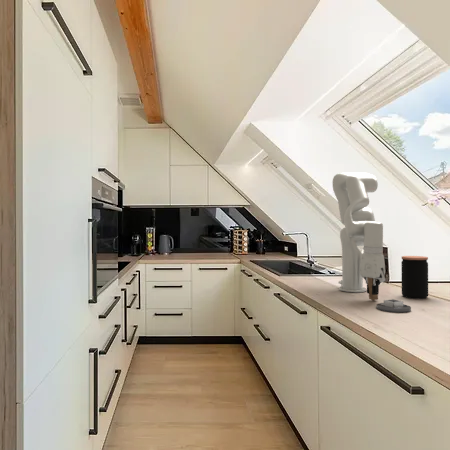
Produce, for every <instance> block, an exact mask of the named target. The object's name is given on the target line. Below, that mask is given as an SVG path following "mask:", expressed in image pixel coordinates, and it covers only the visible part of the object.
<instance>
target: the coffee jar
mask: <svg viewBox="0 0 450 450" xmlns="http://www.w3.org/2000/svg"><path fill="white" fill-rule="evenodd" d="M428 260H429V257H428V256H422V255H421V256H420V255H402V256H401V295H402V297H404V298H406V299H413V300H414V299H415V300H424V299H427V298H428V297H429V262H428Z"/></svg>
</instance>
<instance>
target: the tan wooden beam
mask: <svg viewBox="0 0 450 450" xmlns="http://www.w3.org/2000/svg"><path fill="white" fill-rule="evenodd" d="M367 280H368V286H369V293H368V299H369V300H371V301H376V300H379V294H377V295H372V285H373V278H369V277H367Z"/></svg>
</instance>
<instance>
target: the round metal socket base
mask: <svg viewBox="0 0 450 450" xmlns="http://www.w3.org/2000/svg"><path fill="white" fill-rule="evenodd" d="M376 309H377V310H378V311H382V312H387V313H395V314H407V313H410V312H412V307H411V306H410V305H408V304H404V301H402V300H399V299H394V298H391V299H383V302H378V303H377V304H376Z"/></svg>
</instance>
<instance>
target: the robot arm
mask: <svg viewBox="0 0 450 450" xmlns="http://www.w3.org/2000/svg"><path fill="white" fill-rule="evenodd" d="M378 185H379V184H378V179H377V178H376V176H375V175H374V174H370V173H368V172H339V173H337V174H335V175H334V176H333V178H332V190H333V193H334V195H335V198H336V199H337V204H338V210H339V218H340V222H341V223H342V225H344V227H343V228H342V229H341V230H340V233H339V238H340V244H341V260H342V261H341V262H342V263H341V264H342V268H341V270H342V274H341V276H342V278H341V280H339V281H338V284H339V285H341V286H339V287H338V289H339V291H341V292H346V293H363V292H366V294H369V286H368V280H367V277H369V278H373V285H372V295H377V294H378V295H379V291H380V289H379V287H380V285H381V283H382V282H383V283H384V282H386V278H385V275H386V264H385V261H386V260H385V255H384V253H383V251H384V247H383V246H384V225H383V223H382V222H381V221H376V218H375V215H374V212H373V210H372V209H371V208H370V207H368V206H369V204H370V199H369V198H370V197H369V195H368V193H375V192H376V191H377V190H378V187H379V186H378ZM361 246H362V250H363V253H362V251H361V250H360V249H359V247H361ZM363 279H364V280H363ZM364 281H365V284H366V287H363V285H364V284H363V282H364Z"/></svg>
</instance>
